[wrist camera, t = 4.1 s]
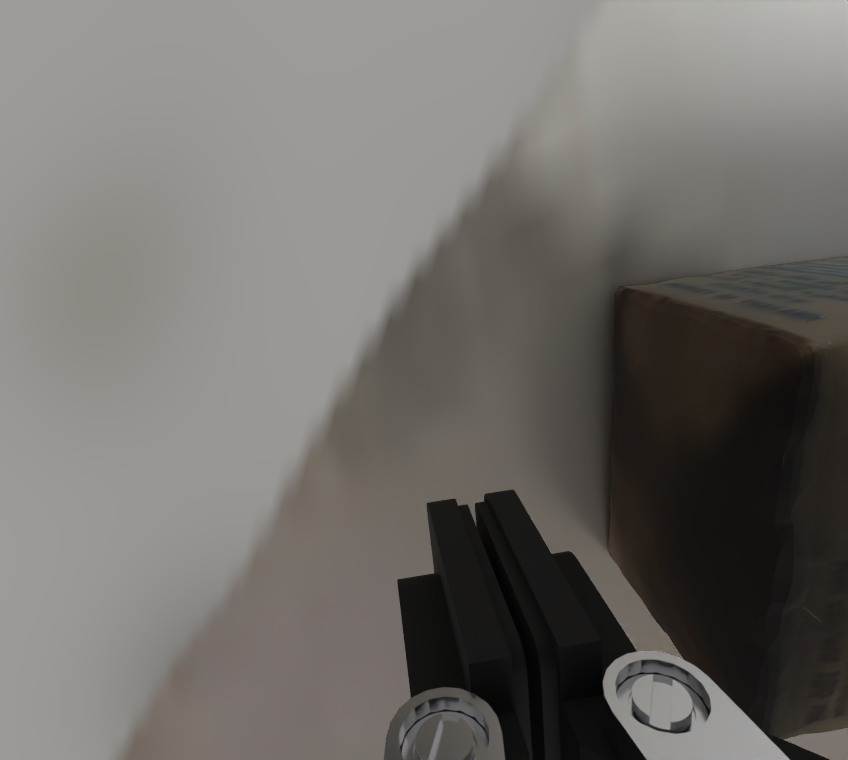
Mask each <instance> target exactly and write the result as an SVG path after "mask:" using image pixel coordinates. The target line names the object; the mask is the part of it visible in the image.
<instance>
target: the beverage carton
mask: <svg viewBox="0 0 848 760" xmlns="http://www.w3.org/2000/svg"><path fill="white" fill-rule="evenodd" d="M614 367H615V381H614V407H613V439H612V445H611V490H610V514H611V517H610V530H609V542H608V548H609V554H610V556H611V557H612V558H613V560H614V561H615V562H616V564H617V565H618V566H619V568H620V570H621V571H622V573H623V575H624V576H625V578H626V579H627V581H628V582H629V583H630V585H631V586H632V587H633V589H634V590H635V591H636V593H637V594H638V595H639V596H640V598H641V599H642V601H643V602H644V604H645V605H646V607H647V609H648V610H649V612H650V613H651V615H652V616H653V618H654V619H655V620H656V622H657V623H658V624H659V625H660V627H661V628H662V629H663V630H664V631H665V632H666V633H667V634H668V636H669V637H670V639H671V641H672V642H673V644H674V645H675V647H676V648H677V650H678V651H679V653H680V655H681V656H682V657H683V659H684V660H685V661H687V662H689V663H691V664H693V665H695V666H696V667H697V668H698V669H700V670H701V671H702V672H703V673H705V674H706V675H707V676H708V677H709V678H710V679H711V680H712V681H713V682H714V683H715V684H716V685H717V686H718V687H719V688H720V689H721V690H722V691H723V692H724V693H725V694H726V695H727V696H728V697H729V698H730V699H731V700H732V701H733V702H734V703H735V704H736V705H737V706H738V707H739V708H740V709H741V710H742V711H743V712H744V713H745V714H746V715H747V716H748V717H749V718H750V719H751V720H752V721H753V722H754V723H755V725H756V726H757V727H758V728H759V729H760V730H761V731H764V732H766V733H768V734H771V735H773V736H775V737H778V738H780V739H782V740H783V739H787V738H790V737H794V736H797V735H801V734H809V733H819V732H827V731H832V730H838V729H843V728H848V256H847V257H839V258H831V259H822V260H814V261H805V262H797V263H788V264H780V265H772V266H764V267H756V268H749V269H742V270H736V271H729V272H723V273H717V274H711V275H705V276H695V277H682V278H677V279H672V280H668V281H663V282H659V283H654V284H647V285H636V286H620V287H619V288H618V290H617V292H616V294H615V318H614Z"/></svg>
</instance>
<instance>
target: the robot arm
mask: <svg viewBox="0 0 848 760" xmlns="http://www.w3.org/2000/svg"><path fill="white" fill-rule="evenodd" d="M427 512H428V521H429V530H430V538H431V547H432V555H433V564H434V574H428V575H422V576H416V577H410V578H404V579H398V580H397V581H398V590H399V599H400V607H401V616H402V625H403V633H404V642H405V650H406V659H407V667H408V676H409V684H410V693H411V699H410V700H409V701H407V702H406V703H405V704H404V705H403V706H402V707H401V708H399V710H398V711H397V713H396V715H395V716H394V718H393V719H392V721H391V722H390V726H389V730H388V733H387V737H386V745H385V755H384V760H829V759H827V758H825V757H822V756H820V755H818V754H815V753H813V752H810V751H808V750H806V749H803V748H801V747H799V746H796V745H794V744H792V743H789V742H787V741H785V740H782V739H780V738H778V737H775V736H773V735H771V734H768V733H766V732H764V731H761V730H760V729H759V728H758V727H757V726H756V725H755V723H754V722H753V721H752V720H751V719H750V718H749V717H748V716H747V715H746V714H745V713H744V712H743V711H742V710H741V709H740V708H739V707H738V706H737V705H736V704H735V703H734V702H733V701H732V700H731V699H730V698H729V697H728V696H727V695H726V694H725V693H724V692H723V691H722V690H721V689H720V688H719V687H718V686H717V685H716V684H715V683H714V682H713V681H712V680H711V679H710V678H709V677H708V676H707V675H706V674H705V673H703V672H702V671H701V670H700V669H698V668H697V667H696V666H695V665H693V664H691V663H689V662H687V661H685V660H683V659H681V658H679V657H677V656H673V655H670V654H666V653H663V652H655V651H638V652H637V651H636V649H635V648H634V646H633V645H632V643H631V642H630V640H629V638H628V637H627V635H626V634H625V632H624V631H623V629H622V628H621V626H620V625H619V623H618V621H617V620H616V618H615V617H614V615H613V614H612V612H611V611H610V609H609V608H608V606H607V605H606V603H605V601H604V600H603V598H602V597H601V595H600V594H599V592H598V591H597V589H596V588H595V586H594V584H593V583H592V581H591V580H590V578H589V577H588V575H587V574H586V572H585V571H584V569H583V567H582V566H581V564H580V563H579V561H578V560H577V558H576V557H575V556H574V554H573V553H572V552H569V551H567V552H561V553H555V554H551V552H550V551H549V549H548V547H547V546H546V544H545V542H544V540H543V539H542V537H541V535H540V534H539V532H538V530H537V528H536V527H535V525H534V523H533V522H532V520H531V518H530V516H529V515H528V513H527V511H526V509H525V508H524V506H523V504H522V503H521V501H520V499H519V497H518V496H517V494H516V492H515V491H514V490H507V491H501V492H494V493H488V494H485V496H484V502H479V503H476V504H475V514H476V525H477V527H476V525H475V522H474V520H473V517H472V515H471V512H470V509H469V507H468V505H467V504H466V505H460V506H458V505H457V502H456V499H449V500H442V501H436V502H430V503H427Z"/></svg>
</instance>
